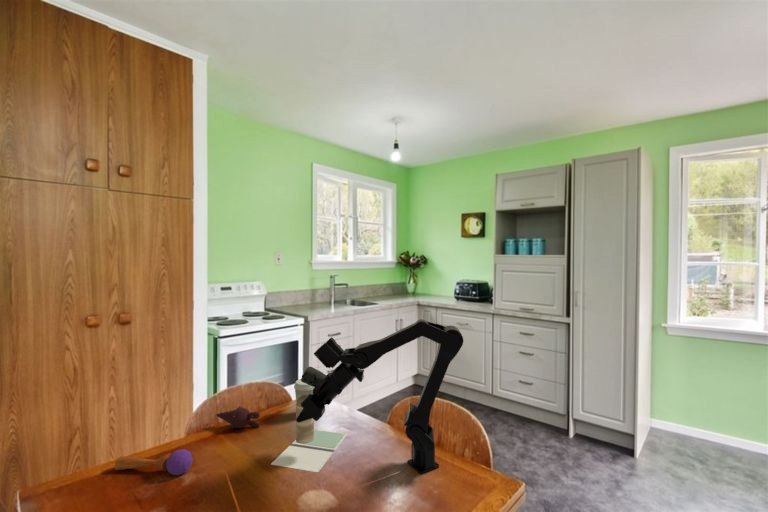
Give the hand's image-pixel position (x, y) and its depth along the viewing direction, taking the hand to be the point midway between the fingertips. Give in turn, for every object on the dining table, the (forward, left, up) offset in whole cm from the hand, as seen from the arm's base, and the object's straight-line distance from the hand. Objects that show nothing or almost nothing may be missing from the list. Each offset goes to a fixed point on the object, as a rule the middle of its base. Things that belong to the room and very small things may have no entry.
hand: (300, 417), depth 105 cm
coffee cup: (+27, -12, -12) cm, 31 cm away
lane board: (+2, -5, -11) cm, 12 cm away
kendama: (+13, +35, -12) cm, 39 cm away
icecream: (+28, +11, -12) cm, 33 cm away
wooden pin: (-1, -1, -6) cm, 6 cm away
